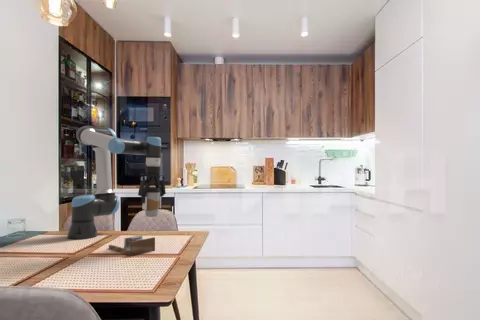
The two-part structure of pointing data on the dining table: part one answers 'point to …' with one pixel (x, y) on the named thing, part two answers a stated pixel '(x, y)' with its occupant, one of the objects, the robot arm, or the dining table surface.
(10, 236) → the dining table surface
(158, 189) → the coffee cup
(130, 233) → the dining table surface
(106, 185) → the robot arm
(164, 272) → the dining table surface
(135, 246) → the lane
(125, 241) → the pusher
